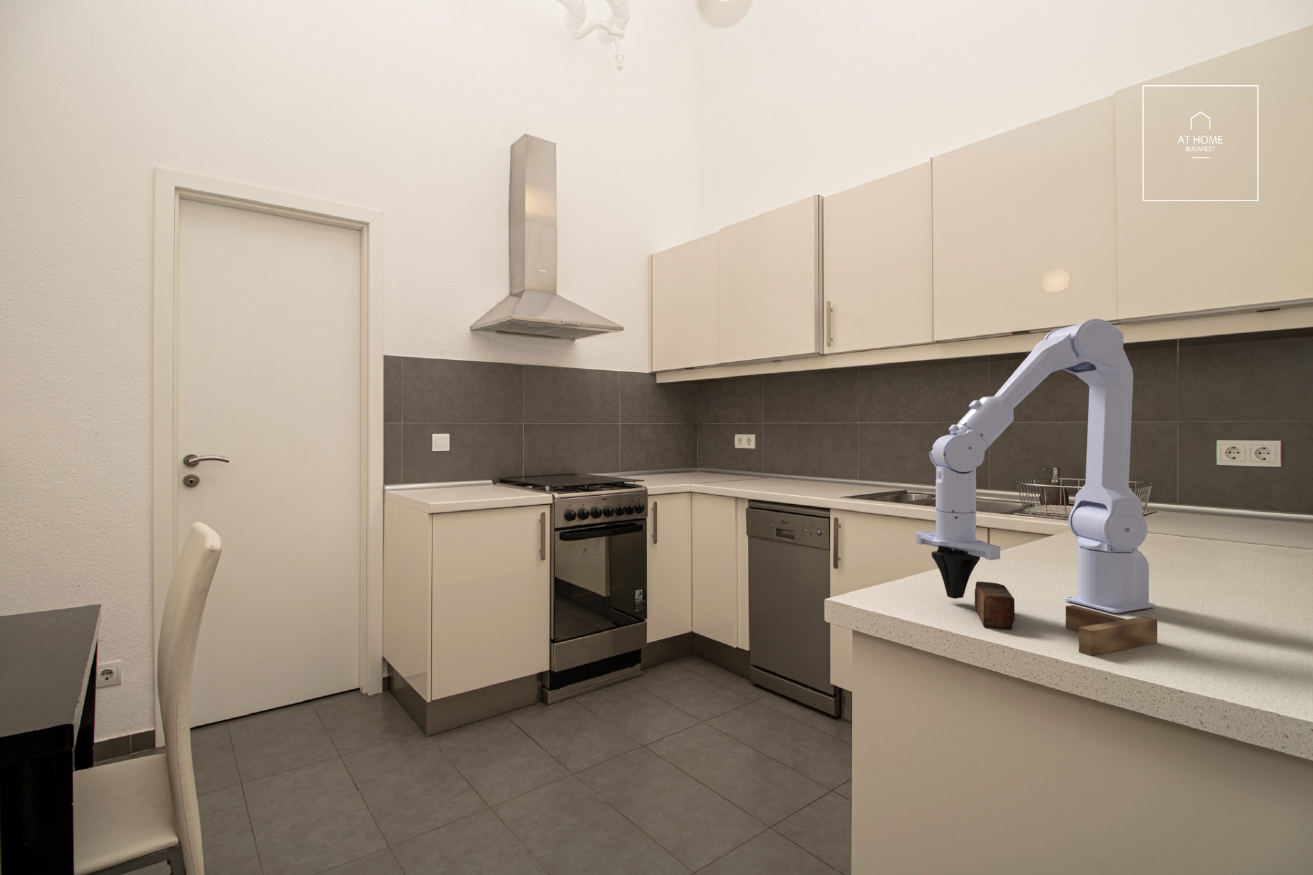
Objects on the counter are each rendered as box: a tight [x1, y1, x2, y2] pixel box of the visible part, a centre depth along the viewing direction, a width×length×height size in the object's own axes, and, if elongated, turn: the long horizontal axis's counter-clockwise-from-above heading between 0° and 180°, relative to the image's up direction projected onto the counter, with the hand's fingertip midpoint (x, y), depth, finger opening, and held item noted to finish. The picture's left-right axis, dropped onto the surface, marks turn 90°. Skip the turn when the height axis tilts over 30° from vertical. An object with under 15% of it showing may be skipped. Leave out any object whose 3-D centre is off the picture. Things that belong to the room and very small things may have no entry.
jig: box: [1065, 604, 1158, 657], centre depth 82 cm, size 12×8×3 cm
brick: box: [974, 580, 1016, 631], centre depth 91 cm, size 11×4×5 cm, turn 159°
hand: (955, 597), depth 98 cm, fingers closed
